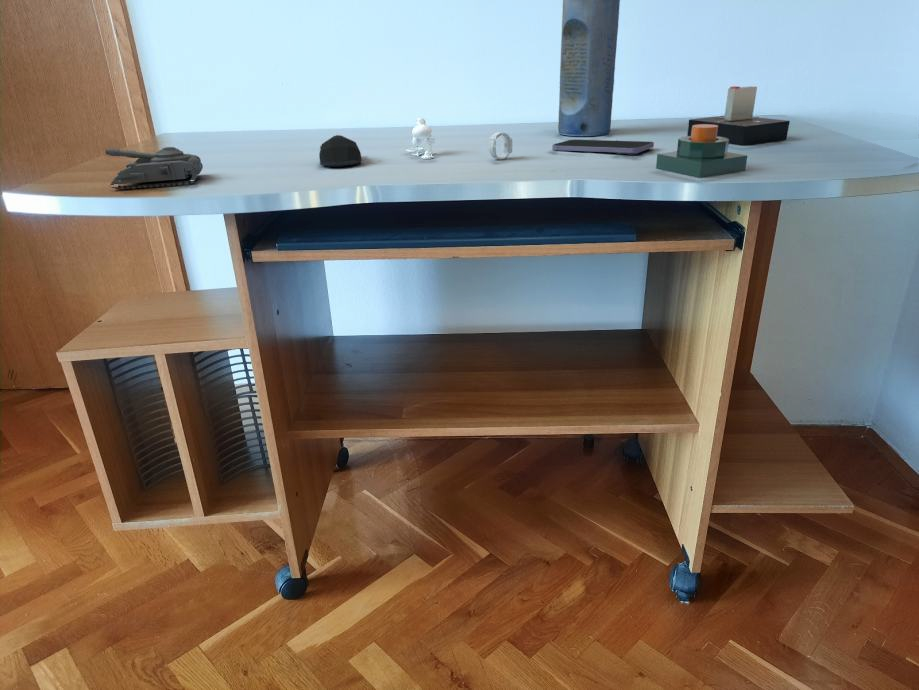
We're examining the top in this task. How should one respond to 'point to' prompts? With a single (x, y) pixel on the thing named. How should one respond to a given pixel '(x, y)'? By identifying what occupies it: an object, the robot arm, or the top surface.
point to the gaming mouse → (339, 152)
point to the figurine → (422, 138)
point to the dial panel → (746, 129)
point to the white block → (740, 103)
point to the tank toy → (156, 168)
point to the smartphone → (604, 146)
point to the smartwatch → (506, 145)
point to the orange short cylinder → (704, 132)
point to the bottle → (587, 66)
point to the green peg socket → (701, 158)
